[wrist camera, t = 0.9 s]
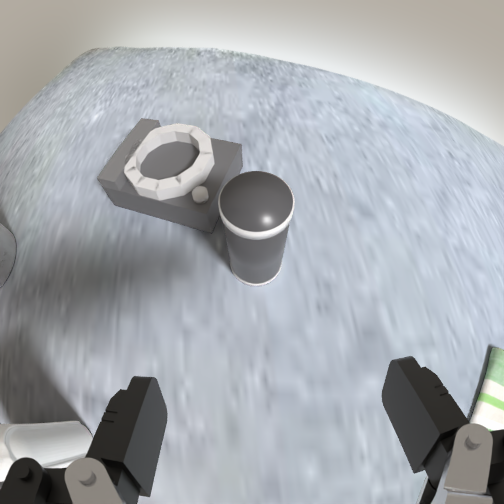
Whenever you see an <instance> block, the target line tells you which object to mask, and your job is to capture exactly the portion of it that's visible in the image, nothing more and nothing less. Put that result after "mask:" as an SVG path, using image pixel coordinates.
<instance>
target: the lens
mask: <svg viewBox="0 0 504 504" xmlns="http://www.w3.org/2000/svg"><path fill="white" fill-rule="evenodd" d="M294 203H295V202H294V196H293V193H292V190H291V189H290V187H289V186H288V184H287V183H286V182H285V181H284V180H282V179H281V178H279V177H278V176H276V175H273V174H271V173H267V172H262V171H251V172H245V173H242V174H239V175H237V176H235V177H233V178H232V179H230V180H229V181H228V182H227V183H226V184H225V185H224V187H223V188H222V190H221V192H220V195H219V200H218V205H219V211H220V216H221V219H222V221H223V225H224V230H225V236H226V241H227V247H228V252H229V257H230V266H231V270H232V272H233V274H234V276H235V277H236V278H237V279H238V280H239V281H240V282H242V283H244V284H246V285H249V286H263V285H266V284H268V283H270V282H272V281H273V280H274V279H275V278H276V277H277V276H278V274H279V272H280V270H281V265H282V258H283V253H284V248H285V243H286V238H287V233H288V228H289V223H290V221H291V218H292V215H293V210H294Z"/></svg>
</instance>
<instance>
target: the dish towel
mask: <svg viewBox="0 0 504 504" xmlns="http://www.w3.org/2000/svg"><path fill="white" fill-rule="evenodd" d="M469 423H470V424H471V423H476V424H480V425H483V426H484V427H486V428H487V429H488V430H489V431H495V430H501V429H504V350H503V349H500V348H495V347H493V348H492V350H491V353H490V358H489V364H488V368H487V372H486V375H485V379H484V382H483V385H482V388H481V392H480V394H479V397H478V400H477V403H476V406H475V409H474V411H473V414H472V417H471V419H470V422H469Z"/></svg>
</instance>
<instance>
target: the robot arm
mask: <svg viewBox="0 0 504 504" xmlns="http://www.w3.org/2000/svg"><path fill="white" fill-rule="evenodd" d="M15 255H16V241H15V238H14V236H13V234H12V233H11V232H10V231H9V230H8V229H7V228H5V227H4V226H3V225H2V224H1V223H0V288H1V286H2V285H3V284H4V283H5V281H6V280H7V278H8V276H9V274H10V272H11V270H12V267H13V264H14V260H15ZM382 402H383V406H384V408H385V410H386V412H387V414H388V416H389V419H390V421H391V423H392V425H393V427H394V429H395V432H396V434H397V436H398V438H399V441H400V443H401V445H402V447H403V450H404V452H405V454H406V456H407V459H408V461H409V463H410V466H411V468H412V470H413V473H414V474H415V473H418V472H420V471H423V470H425V471H426V473H427V476H426V478H425V480H424V483H423V486H422V488H421V491H420V494H419V496H418V499H417V502H416V504H504V429H501V430H495V431H489V430H488V429H487V428H486V427H484V426H483V425H480V424H476V423H471V424H470V423H469V421H468V420H467V418H466V417H465V415H464V414H463V412H462V411H461V409H460V408H459V406H458V405H457V403H456V402H455V401H454V399H453V398H452V396H451V395H450V394H448V390H447V389H446V388H445V386H443V383H442V382H441V380H440V379H439V378H438V376H437V375H436V374H435V373H433V372H432V371H431V370H429V369H428V368H426V367H422V368H421V367H420V365H419V364H418V363H417V361H416V360H415V358H414V357H412V356H409V357H404V358H399V359H395V360H392V361H391V362H390V364H389V368H388V372H387V375H386V379H385V383H384V386H383V390H382ZM166 424H167V408H166V405H165V402H164V399H163V396H162V393H161V390H160V387H159V384H158V381H157V379H156V378H155V377H139V376H134V377H133V378H132V379H131V382H130V384H129V386H128V389H127V390H121V389H120V390H119V391H118V392H117V393H116V394H115V395H114V396H113V397H112V398H111V399H110V401H109V404H108V406H107V408H106V412H104V415H103V417H102V422H100V424H99V426H98V428H97V431H96V433H95V435H94V438H93V440H92V442H91V445H90V447H89V450H88V452H87V454H86V456H85V457H84V458H80V459H77V460H75V461H73V462H72V463H71V464H70V465H69V466H68V467H67V468H43V467H42V466H41V465H40V464H39V463H38V462H37V461H36V460H35V459H32V458H29V457H23V458H20V459H18V460H16V461H15V462H14V463H13V464H12V465H11V467H10V469H9V471H8V473H7V476H6V478H5V480H4V483H3V485H2V487H1V490H0V504H137V502H138V498H139V495H140V496H146V497H150V495H151V490H152V485H153V481H154V476H155V472H156V467H157V463H158V458H159V454H160V450H161V445H162V441H163V437H164V432H165V428H166Z"/></svg>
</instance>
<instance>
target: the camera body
mask: <svg viewBox="0 0 504 504" xmlns="http://www.w3.org/2000/svg"><path fill="white" fill-rule="evenodd" d="M242 167H243V163H242V144H238V143H233V142H228V141H223V140H218V139H213V138H210V136H208V135H207V134H206V133H205V132H203V131H202V130H201V129H199V128H198V127H197V126H191V125H184V124H178V123H177V124H172V125H168V126H163V127H161V126H160V123H159V120H151V119H142V118H141V120H140V121H139V122H138V123H137V124H136V126H135V127H134V128H133V129H132V131H131V132H130V133H129V135H128V136H127V137H126V138H125V140H124V141H123V142H122V144H121V145H120V146H119V148H118V149H117V150H116V152H115V153H114V154H113V156H112V157H111V159H110V160H109V161H108V163H107V164H106V166H105V167H104V169H103V170H102V171H101V173H100V174H99V176H98V177H97V179H98V180H99V182H100V183H101V185H102V187H103V188H104V190H105V191H106V193H107V194H108V196H109V197H110V199H111V200H112V202H113V203H114V205H116V206H119V207H123V208H126V209H129V210H133V211H136V212H140V213H143V214H147V215H150V216H154V217H157V218H160V219H164V220H167V221H171V222H174V223H178V224H181V225H184V226H188V227H191V228H195V229H198V230H202V231H205V232H208V233H212V232H213V229H214V227H215V225H216V223H217V220H218V218H219V216H220V211H219V205H218V200H219V195H220V192H221V190H222V188H223V187H224V185H225V184H226V183H227V182H228V181H229V180H230V179H232V178H233V177H235V176H237V175H239V173H240V171H241V169H242Z"/></svg>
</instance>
